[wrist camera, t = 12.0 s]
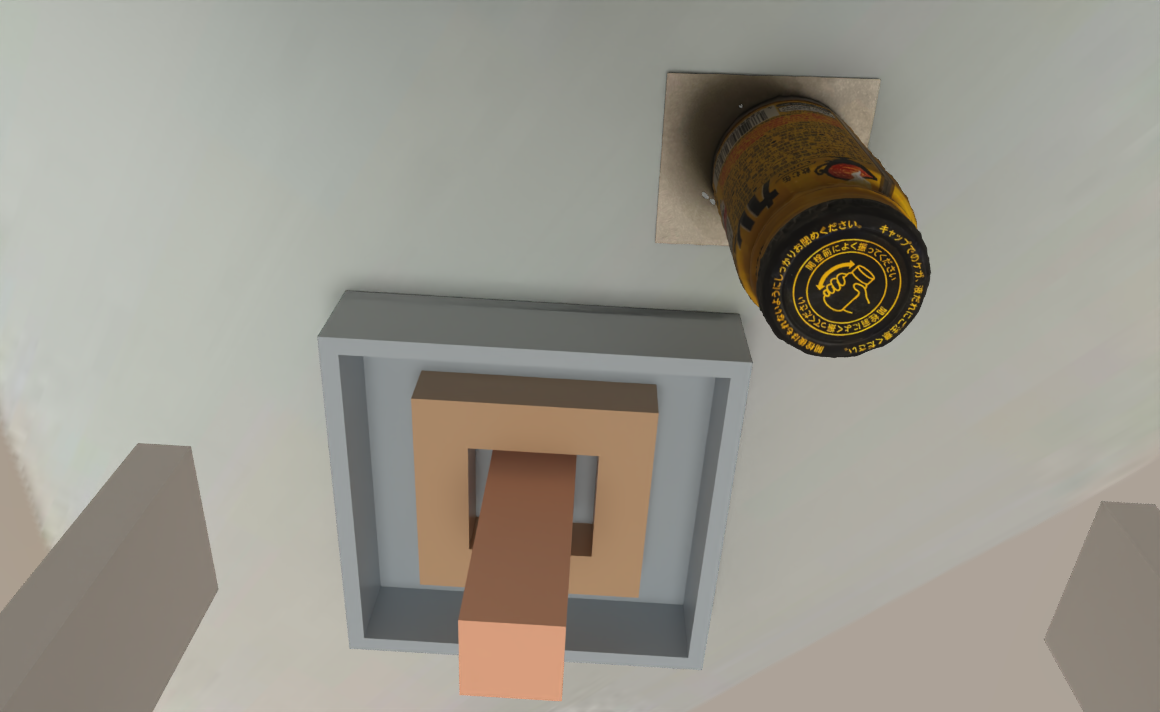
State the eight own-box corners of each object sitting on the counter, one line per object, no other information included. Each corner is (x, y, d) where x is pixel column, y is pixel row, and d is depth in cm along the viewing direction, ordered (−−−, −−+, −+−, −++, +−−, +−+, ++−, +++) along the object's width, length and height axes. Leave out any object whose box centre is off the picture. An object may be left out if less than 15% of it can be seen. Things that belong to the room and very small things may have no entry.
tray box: (345, 290, 41) (317, 336, 37) (739, 314, 41) (752, 362, 37) (370, 585, 50) (349, 648, 46) (695, 606, 50) (702, 670, 46)
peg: (495, 437, 44) (457, 620, 33) (577, 442, 44) (565, 626, 33) (495, 502, 46) (459, 694, 35) (573, 507, 46) (561, 701, 35)
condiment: (848, 248, 39) (933, 390, 29) (654, 241, 40) (669, 379, 29) (879, 78, 36) (988, 169, 25) (666, 70, 36) (688, 158, 26)
